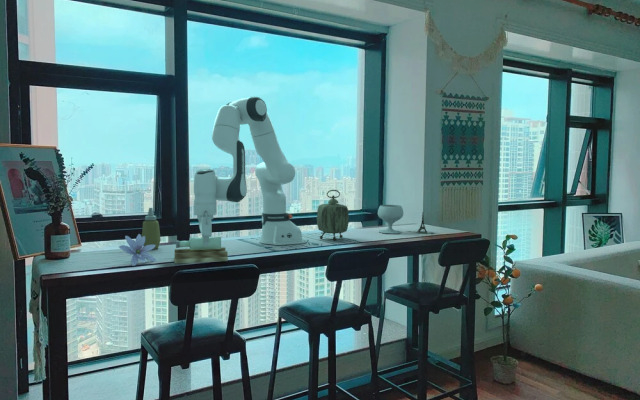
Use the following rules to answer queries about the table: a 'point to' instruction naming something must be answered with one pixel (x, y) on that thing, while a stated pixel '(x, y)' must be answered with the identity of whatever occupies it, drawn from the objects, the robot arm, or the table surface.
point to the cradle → (200, 255)
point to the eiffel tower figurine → (422, 228)
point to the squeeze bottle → (151, 230)
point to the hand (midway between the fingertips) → (205, 244)
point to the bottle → (200, 243)
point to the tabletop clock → (332, 217)
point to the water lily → (138, 249)
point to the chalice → (390, 216)
